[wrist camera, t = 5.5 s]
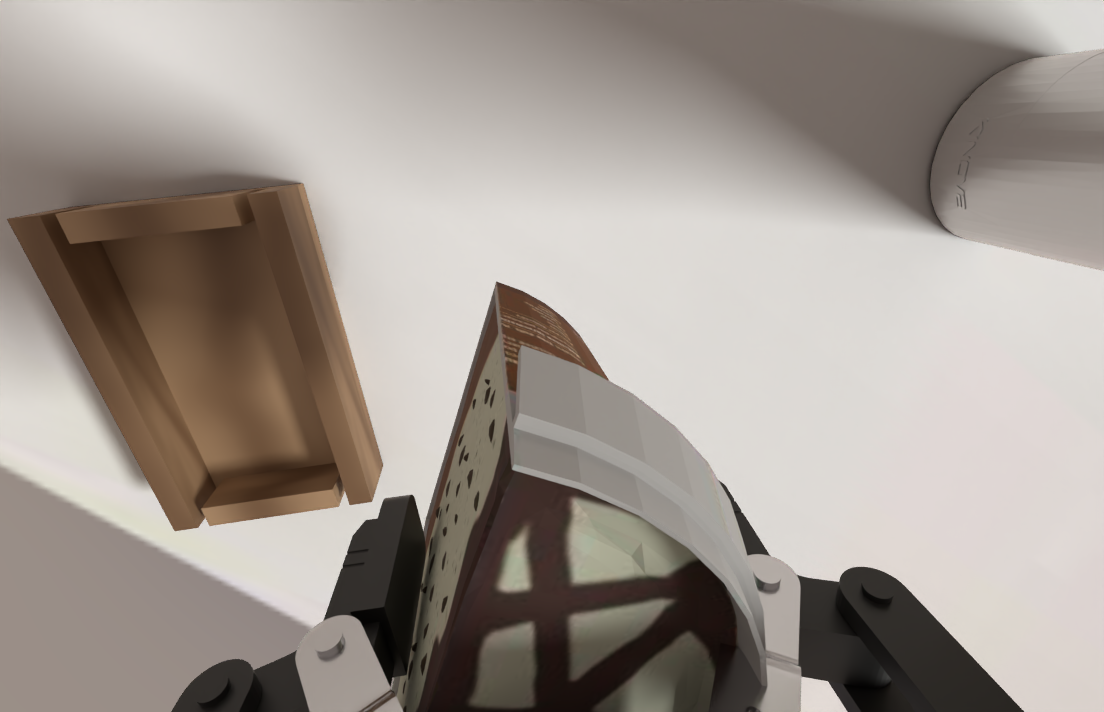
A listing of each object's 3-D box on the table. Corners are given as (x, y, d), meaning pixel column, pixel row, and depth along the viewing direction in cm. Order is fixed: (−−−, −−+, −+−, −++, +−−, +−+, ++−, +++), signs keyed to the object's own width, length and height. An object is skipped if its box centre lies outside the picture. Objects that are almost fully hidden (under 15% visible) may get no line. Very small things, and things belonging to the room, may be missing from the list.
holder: (303, 183, 24) (276, 191, 21) (383, 465, 30) (372, 501, 27) (69, 207, 23) (6, 218, 20) (206, 490, 30) (174, 531, 27)
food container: (569, 574, 20) (626, 940, 11) (417, 548, 19) (339, 940, 10) (700, 293, 16) (979, 528, 6) (510, 233, 14) (528, 423, 5)
